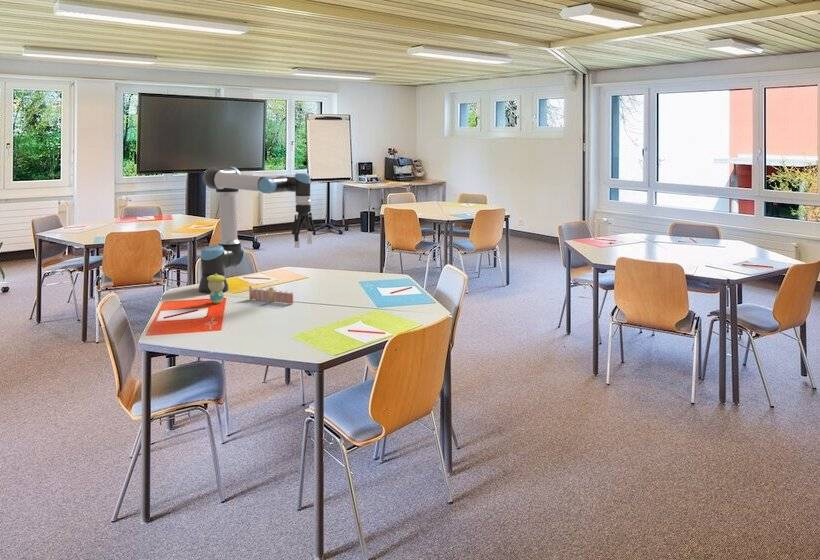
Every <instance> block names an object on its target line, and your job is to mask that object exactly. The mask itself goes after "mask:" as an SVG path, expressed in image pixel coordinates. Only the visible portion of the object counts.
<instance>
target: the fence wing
mask: <svg viewBox="0 0 820 560" xmlns="http://www.w3.org/2000/svg"><path fill="white" fill-rule="evenodd" d="M274 302H281V303H289V304H288V305H293V304H294V291H290V292H288V290H285V291H284V292H283V289H281V290H279V291H277V289H274Z"/></svg>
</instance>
